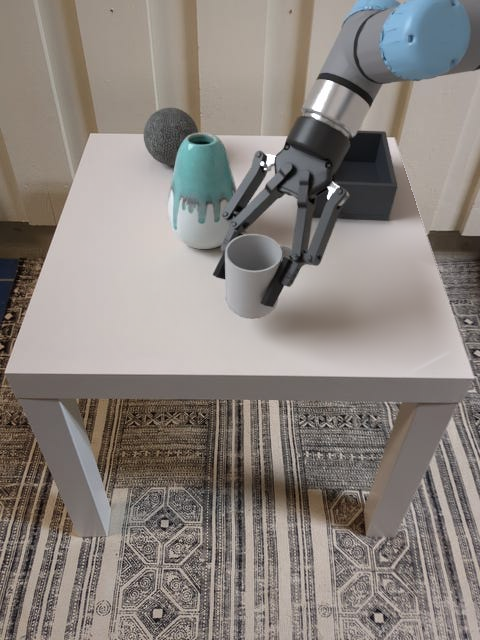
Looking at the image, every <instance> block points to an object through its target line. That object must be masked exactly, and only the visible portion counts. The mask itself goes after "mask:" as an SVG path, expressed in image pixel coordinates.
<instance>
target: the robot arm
mask: <svg viewBox="0 0 480 640" xmlns="http://www.w3.org/2000/svg"><path fill="white" fill-rule="evenodd" d="M342 22H343V23H342V25H341V28H340V30H339V33H338V34H337V36H336V39H335V41H334V43H333V45H332V48H331V49H330V50H329V53H328V54H327V57H326V59H325V61H324V63H323V65H322V67H321V69H320V71H319V73H318V76H317V77H316V79H315V81H314V83H313V85H312V87H311V89H310V90H309V92H308V95H307V97H306V99H305V100H304V102H303V104H302V106H301V108H300V110H301V114H302V115H300V116H298V117H297V118H296V119H295V121H294V123H293V125H292V127H291V128H290V131H289V133H288V135H287V137H286V139H285V143H284V145H283V147H282V149H281V150H280V151H279V152H278V153H276V155H274V154H268V153H265V152H264V151H262V150H257V151H256V152H255V153H254V156H253V159H252V162H251V165H250V168H249V170H248V172H247V173H246V174H245V176H244V177H243V179H242V180H241V182H240V184H239V185H238V187H237V188H236V189H237V190H236V192H235V193H234V195H233V196H232V198H231V200H230V201H229V203H228V204H227V206H226V207H225V209H224V211H223V212H222V217H223V218H224V219H225V220H226V221H227V222H228V223H229V225H230V228H229V231H228V233H227V235H226V237H225V239H224V241H223V243H222V245H220V251H221V252H223V253H222V255H221V257H220V259H219V261H218V263H217V265H216V267H215V269H214V271H213V273H212V276H214V277H215V278H217V279H221V280H225V250H226V247H227V245H228V243H229V242H230V241H232V240H233V239H234V238H236V237H238V236H241V235H245V234H248V232H247V230H248V229H249V228H250V227H251V226H252V225H253V224H254V223H255V222H256V221H257V220H258V219H259V218H260V217H261V216H262V215H263V214H264V213H265V212H266V211H267V210H268V209H269V208H270V207H271V206H273V204H274V203H275V202H276V201H277V200H279V199H281V198H283V196H285V195H287V196H289V197H293V198H295V199H296V206H297V211H296V218H295V225H294V230H293V231H294V232H293V239H292V244H291V245H292V246H291V251H292V252H291V256H290V255H289V258H290V259H288V258H286V257H283V259H282V260H281V263H280V265H279V267H278V269H277V271H276V273H275V275H274V277H273V279H272V281H271V283H270V285H269V286H268V288H267V290H266V292H265V294H264V296H263V298H262V300H261V302H260V303H261V304H263V305H265V306H270V307H273V306H274V304H275V303H276V301H277V299H278V300H279V296H280V295H281V293H282V291H283V289H284V287H287V288H290V287H291V286H292V285H293V284H294V282H295V281H296V279H297V277H298V275H299V273H300V271H301V269H302V267H303V266H305V265H308V266H314V267H318V266H319V265H320V264H321V263H322V260H323V257H324V256H325V255H324V254H325V252H326V249H327V247H328V243H329V242H330V239H331V236H332V234H333V231H334V228H335V226H336V223H337V221H338V216H339V213H340V210H341V209H342V208H343V207H344V205H345V204H346V203H347V202H348V201H349V199H350V194H349V193H348V192H347V191H346V190H345V189H344V188H343V187H339V186H338V185H337V184H336V183H335V173H336V171H337V170H338V168H339V167H340V165H341V163H342V161H343V159H344V157H345V155H346V153H347V151H348V149H349V148H350V141H349V139H351V138H354V137H355V136H356V134H357V132H358V130H359V131H360V128H361V126H362V124H363V122H364V120H365V118H366V116H367V114H368V113H369V110H370V109H371V107H372V105H373V103H374V101H375V99H376V97H377V95H378V94H379V92H380V90H381V88H382V86H383V85H386V84H387V85H388V84H391V83H400V82H401V83H402V82H409V81H410V82H420V81H423V80H431V79H434V78H437V77H443V76H449V75H455V74H456V75H457V74H461V73H467V72H475V71H480V0H406V1H405V2H402V3H401V2H400V1H398V0H355V3H354V5H353V7H351V10H350V11H349V13H348V15H346V17H345V18H344V20H343V21H342ZM273 167H274V175H273V176H272V177H271V179H269V181H267V182H266V184H265V186H264V188H263V189H262V190H261V191H260V192H259V193H258V194H257V195H256V196H255V197H254V195H255V194H256V192H257V191H258V190H259V188H260V186H261V184H262V183H263V181H264V180H265V178H266V177H267V173H268V172H271V171H272V169H273ZM327 190H329V193H328V195H327V198H328V201H327V203H326V205H325V207H324V210H323V212H322V215H321V218H319V220H318V222H317V226H316V228H315V231H314V233H313V237H312V239H311V230H312V225H313V224H312V223H313V218H314V217H313V212H314V210H315V206H316V198H317V196H319V195H320V194H322V193H324V192H326V191H327ZM253 197H254V198H253ZM310 239H311V241H310Z"/></svg>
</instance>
